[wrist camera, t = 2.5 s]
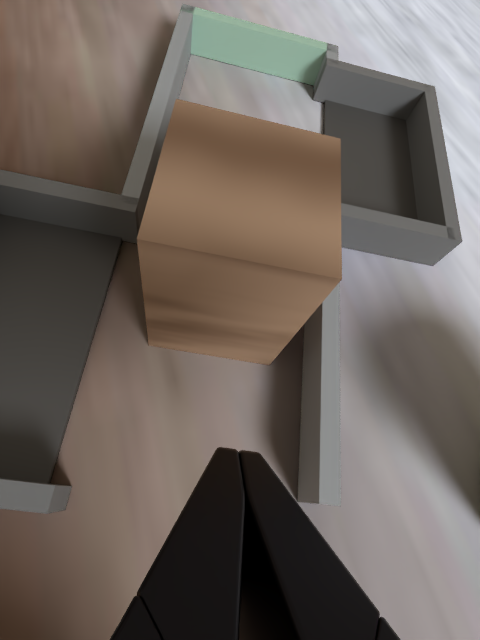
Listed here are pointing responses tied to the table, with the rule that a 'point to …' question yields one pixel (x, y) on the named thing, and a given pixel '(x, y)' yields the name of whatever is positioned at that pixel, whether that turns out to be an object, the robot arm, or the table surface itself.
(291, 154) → the walnut block
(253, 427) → the table surface
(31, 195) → the bent walled tray
